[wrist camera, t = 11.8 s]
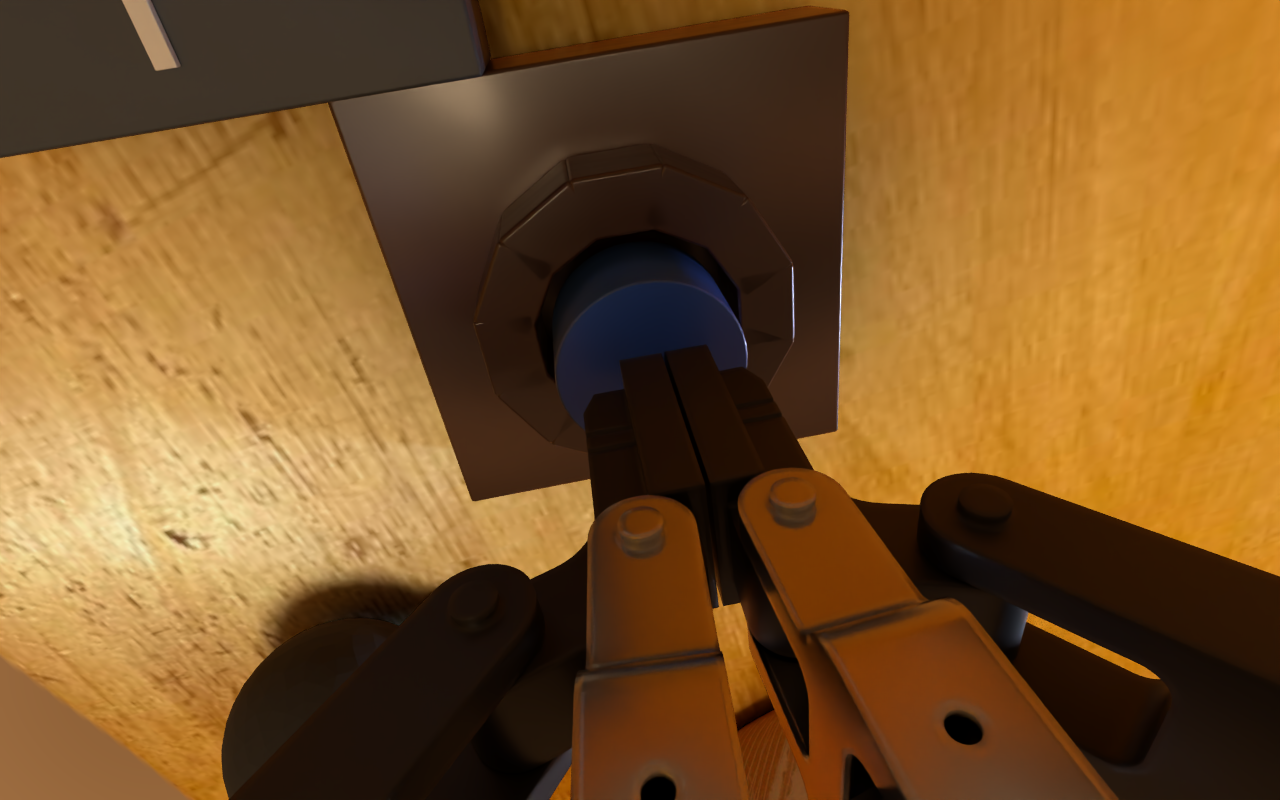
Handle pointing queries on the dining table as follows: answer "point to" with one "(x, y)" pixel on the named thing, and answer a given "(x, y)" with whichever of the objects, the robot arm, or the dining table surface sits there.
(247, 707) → the light bulb
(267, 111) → the dimmer panel
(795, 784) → the planter
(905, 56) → the dining table surface
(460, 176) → the switch block
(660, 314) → the switch button
